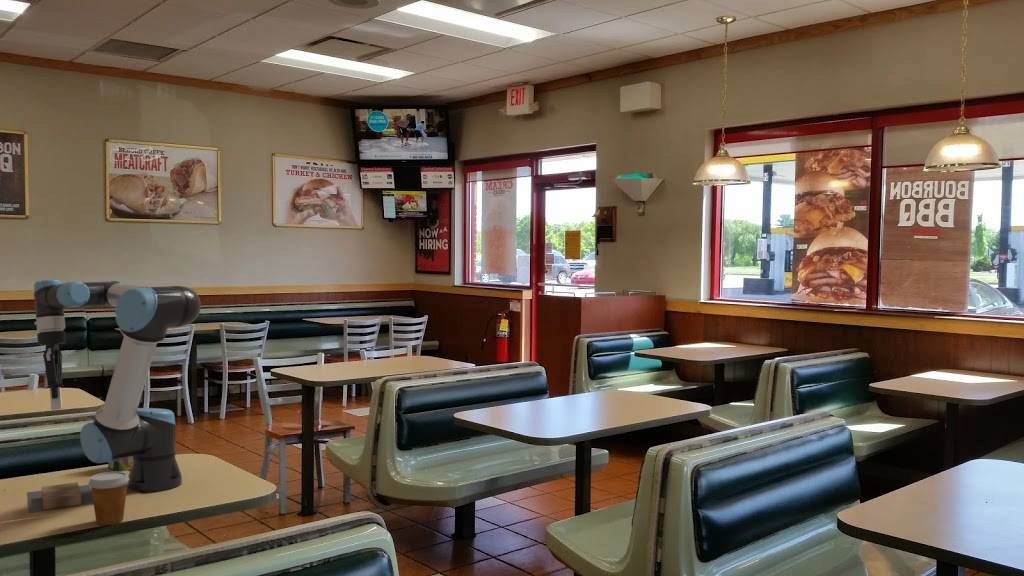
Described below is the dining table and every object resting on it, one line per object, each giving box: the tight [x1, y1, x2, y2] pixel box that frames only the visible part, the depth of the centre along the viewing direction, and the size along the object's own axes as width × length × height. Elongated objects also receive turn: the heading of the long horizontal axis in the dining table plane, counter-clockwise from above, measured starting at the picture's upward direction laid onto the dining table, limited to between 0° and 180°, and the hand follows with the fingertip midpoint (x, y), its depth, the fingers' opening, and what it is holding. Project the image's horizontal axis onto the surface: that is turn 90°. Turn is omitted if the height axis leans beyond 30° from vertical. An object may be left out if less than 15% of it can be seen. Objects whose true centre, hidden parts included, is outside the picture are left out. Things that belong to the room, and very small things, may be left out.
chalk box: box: [107, 456, 133, 472], centre depth 270 cm, size 9×9×15 cm
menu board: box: [41, 482, 81, 510], centre depth 233 cm, size 9×3×14 cm
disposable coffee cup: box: [88, 471, 129, 526], centre depth 217 cm, size 10×10×12 cm
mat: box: [26, 484, 94, 514], centre depth 236 cm, size 16×22×1 cm
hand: (56, 409), depth 250 cm, fingers closed
